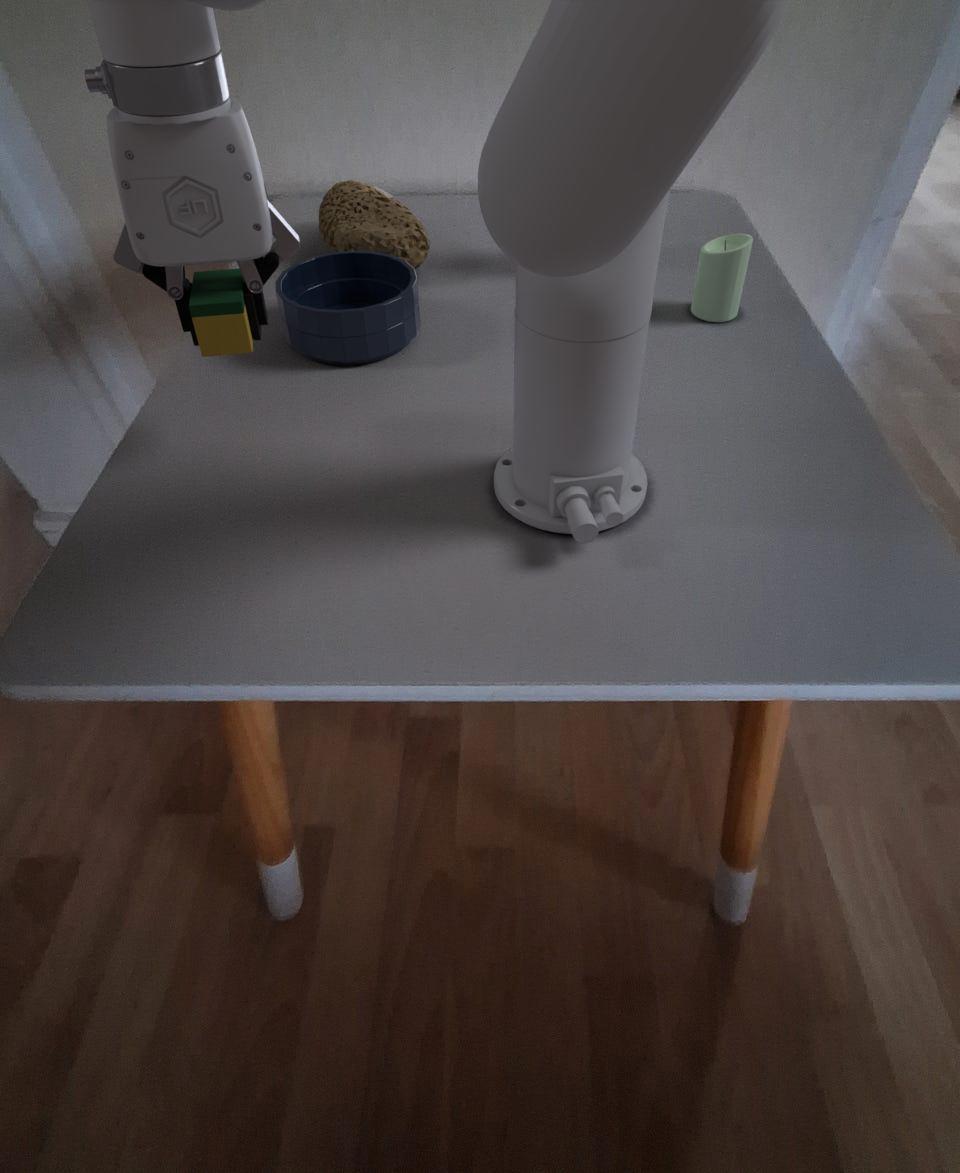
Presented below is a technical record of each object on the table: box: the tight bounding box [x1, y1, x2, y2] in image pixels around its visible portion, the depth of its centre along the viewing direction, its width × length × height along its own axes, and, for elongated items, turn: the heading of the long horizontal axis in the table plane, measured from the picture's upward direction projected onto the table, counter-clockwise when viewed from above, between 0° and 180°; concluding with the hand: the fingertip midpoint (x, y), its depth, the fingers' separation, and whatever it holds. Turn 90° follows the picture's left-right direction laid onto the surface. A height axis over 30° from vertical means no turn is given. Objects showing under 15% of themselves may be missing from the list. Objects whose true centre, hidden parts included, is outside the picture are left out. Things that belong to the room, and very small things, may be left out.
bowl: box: [275, 250, 421, 366], centre depth 87 cm, size 14×14×6 cm
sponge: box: [318, 179, 431, 270], centre depth 102 cm, size 13×8×20 cm
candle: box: [690, 233, 754, 323], centre depth 89 cm, size 5×5×8 cm
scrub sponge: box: [189, 267, 254, 358], centre depth 68 cm, size 6×4×4 cm, turn 10°
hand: (228, 333), depth 69 cm, fingers closed on scrub sponge, 4 cm apart
